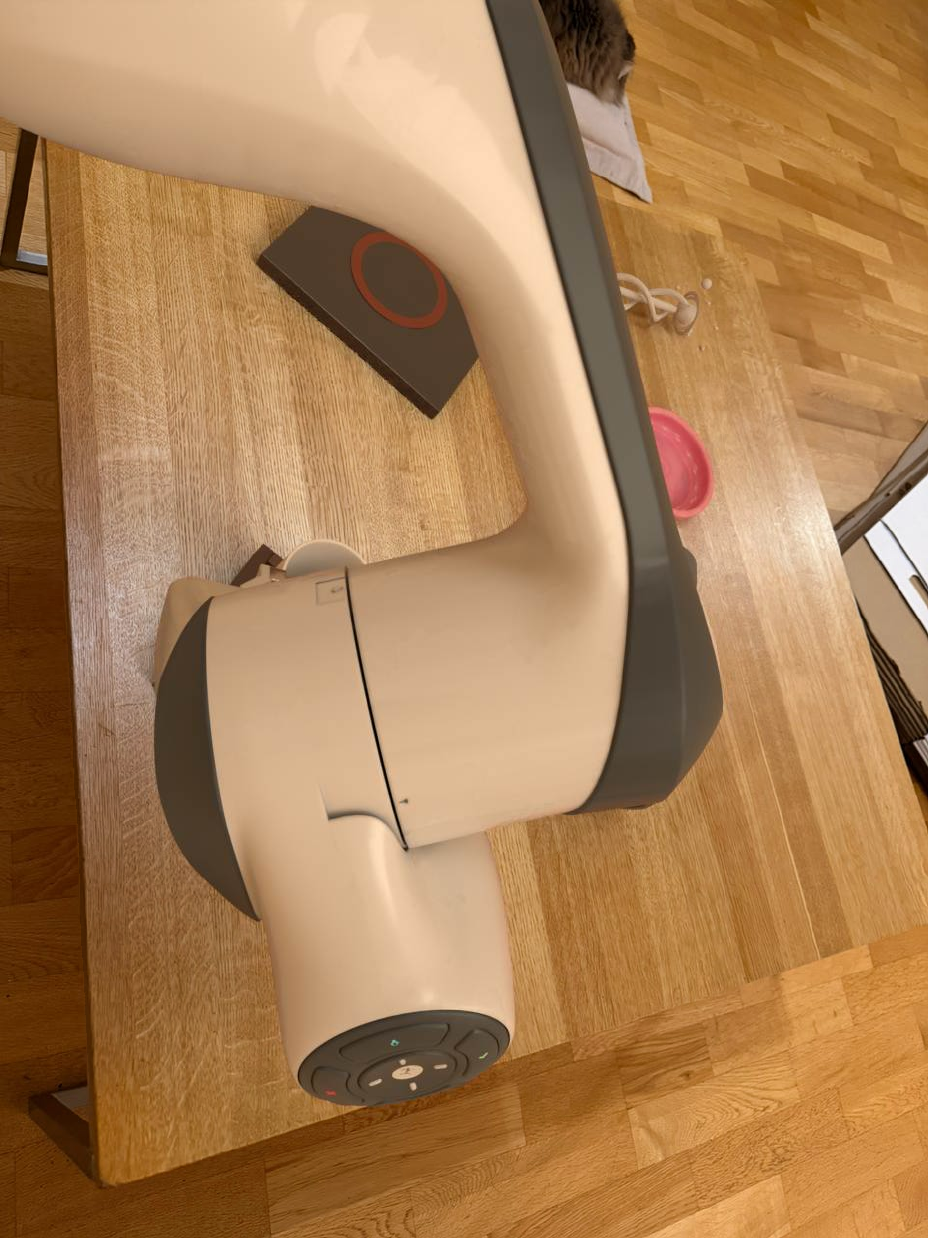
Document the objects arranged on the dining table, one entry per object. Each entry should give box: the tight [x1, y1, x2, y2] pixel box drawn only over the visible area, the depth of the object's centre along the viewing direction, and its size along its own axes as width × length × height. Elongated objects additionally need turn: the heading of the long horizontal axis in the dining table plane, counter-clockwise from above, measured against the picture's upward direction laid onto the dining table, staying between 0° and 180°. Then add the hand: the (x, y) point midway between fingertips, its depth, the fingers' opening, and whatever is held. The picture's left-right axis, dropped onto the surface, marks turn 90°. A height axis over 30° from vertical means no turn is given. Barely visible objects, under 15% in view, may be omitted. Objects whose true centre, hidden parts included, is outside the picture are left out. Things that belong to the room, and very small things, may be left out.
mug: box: [276, 537, 368, 579], centre depth 65 cm, size 10×7×12 cm, turn 174°
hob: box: [255, 205, 479, 420], centre depth 87 cm, size 20×18×2 cm
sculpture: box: [616, 272, 719, 351], centre depth 101 cm, size 7×5×30 cm
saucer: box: [648, 405, 715, 520], centre depth 98 cm, size 12×12×3 cm
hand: (349, 596), depth 55 cm, fingers open, 8 cm apart
